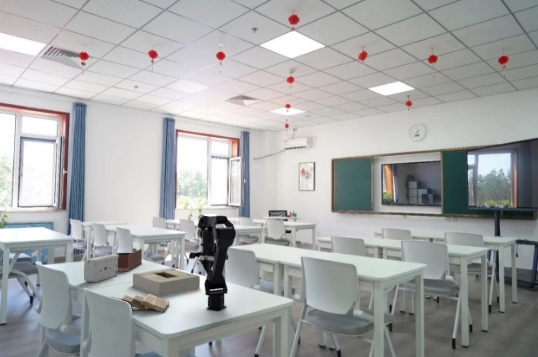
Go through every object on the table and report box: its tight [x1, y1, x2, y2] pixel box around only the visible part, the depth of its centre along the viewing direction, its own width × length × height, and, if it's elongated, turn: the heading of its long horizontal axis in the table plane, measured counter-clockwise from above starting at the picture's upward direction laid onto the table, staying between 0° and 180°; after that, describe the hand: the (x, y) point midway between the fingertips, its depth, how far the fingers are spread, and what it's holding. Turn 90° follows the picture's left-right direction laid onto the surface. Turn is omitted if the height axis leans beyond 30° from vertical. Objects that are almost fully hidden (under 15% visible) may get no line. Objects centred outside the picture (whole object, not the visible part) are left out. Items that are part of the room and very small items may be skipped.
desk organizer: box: [115, 248, 143, 273], centre depth 251 cm, size 10×29×11 cm, turn 2°
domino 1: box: [120, 294, 146, 311], centre depth 157 cm, size 2×5×10 cm
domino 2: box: [132, 294, 155, 311], centre depth 158 cm, size 2×5×10 cm
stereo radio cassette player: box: [83, 247, 119, 283], centre depth 217 cm, size 21×8×20 cm, turn 164°
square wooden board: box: [141, 293, 171, 313], centre depth 158 cm, size 2×10×10 cm
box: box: [132, 267, 201, 297], centre depth 197 cm, size 23×8×32 cm
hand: (208, 274), depth 170 cm, fingers closed
